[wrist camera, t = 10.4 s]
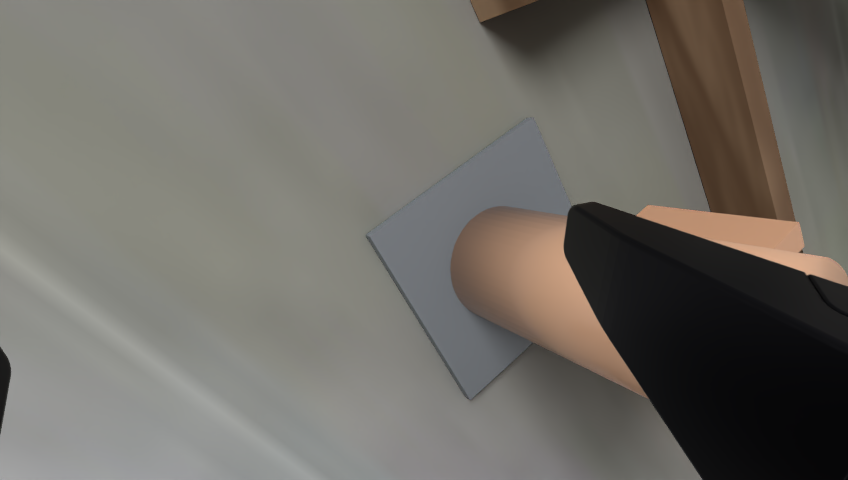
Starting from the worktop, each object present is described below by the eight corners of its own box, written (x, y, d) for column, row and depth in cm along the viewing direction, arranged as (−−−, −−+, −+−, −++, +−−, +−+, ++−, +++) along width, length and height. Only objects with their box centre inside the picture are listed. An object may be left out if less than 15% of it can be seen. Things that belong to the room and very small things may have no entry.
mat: (465, 396, 27) (470, 400, 26) (365, 234, 23) (369, 236, 23) (595, 276, 30) (602, 278, 29) (527, 117, 26) (533, 117, 26)
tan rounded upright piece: (481, 339, 26) (764, 497, 14) (430, 250, 24) (715, 350, 12) (587, 246, 28) (904, 316, 17) (550, 157, 26) (882, 166, 15)
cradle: (628, 363, 32) (688, 389, 29) (465, -11, 24) (522, -39, 20) (740, 250, 36) (804, 261, 32) (634, -110, 27) (707, -149, 24)
